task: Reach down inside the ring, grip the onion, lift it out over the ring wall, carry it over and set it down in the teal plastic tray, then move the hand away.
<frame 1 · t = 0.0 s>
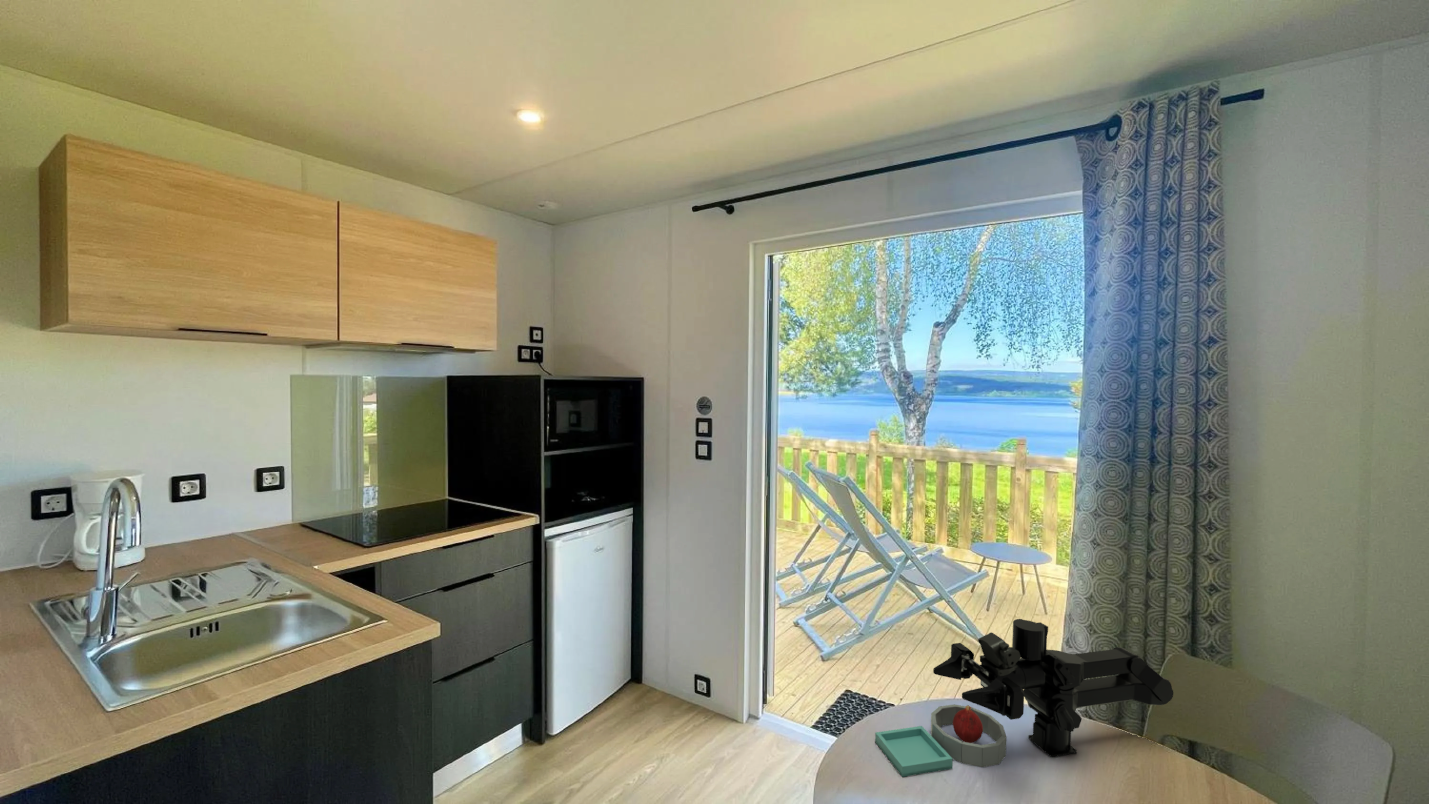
hand: (947, 682, 113), 17 cm above the table, tool horizontal, fingers open, 9 cm apart
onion: (967, 743, 120), resting in ring
tray: (912, 754, 116), on the table
ring: (967, 742, 120), on the table
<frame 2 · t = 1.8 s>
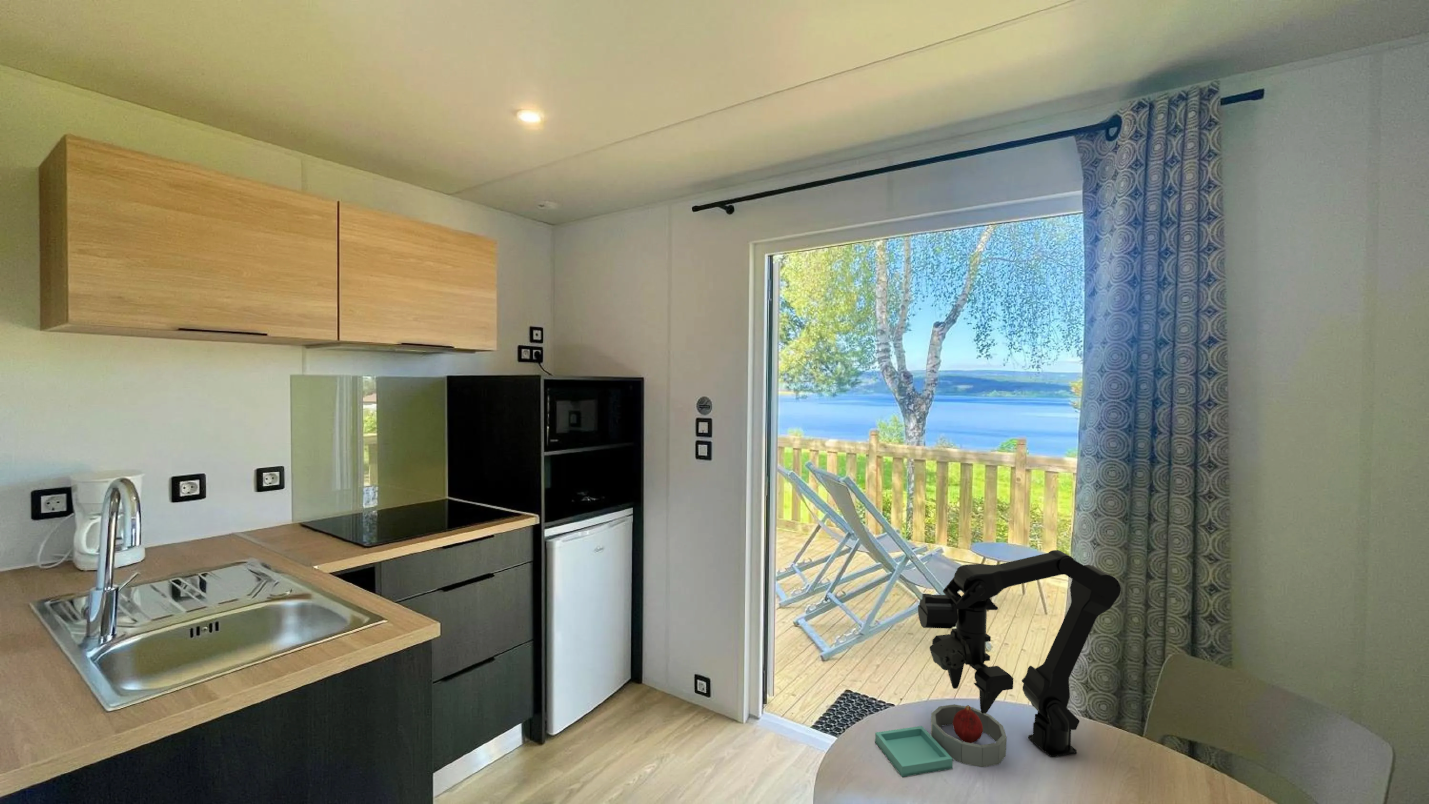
hand: (968, 700, 119), 9 cm above the table, tool pointing down, fingers open, 9 cm apart
nothing on the table moved.
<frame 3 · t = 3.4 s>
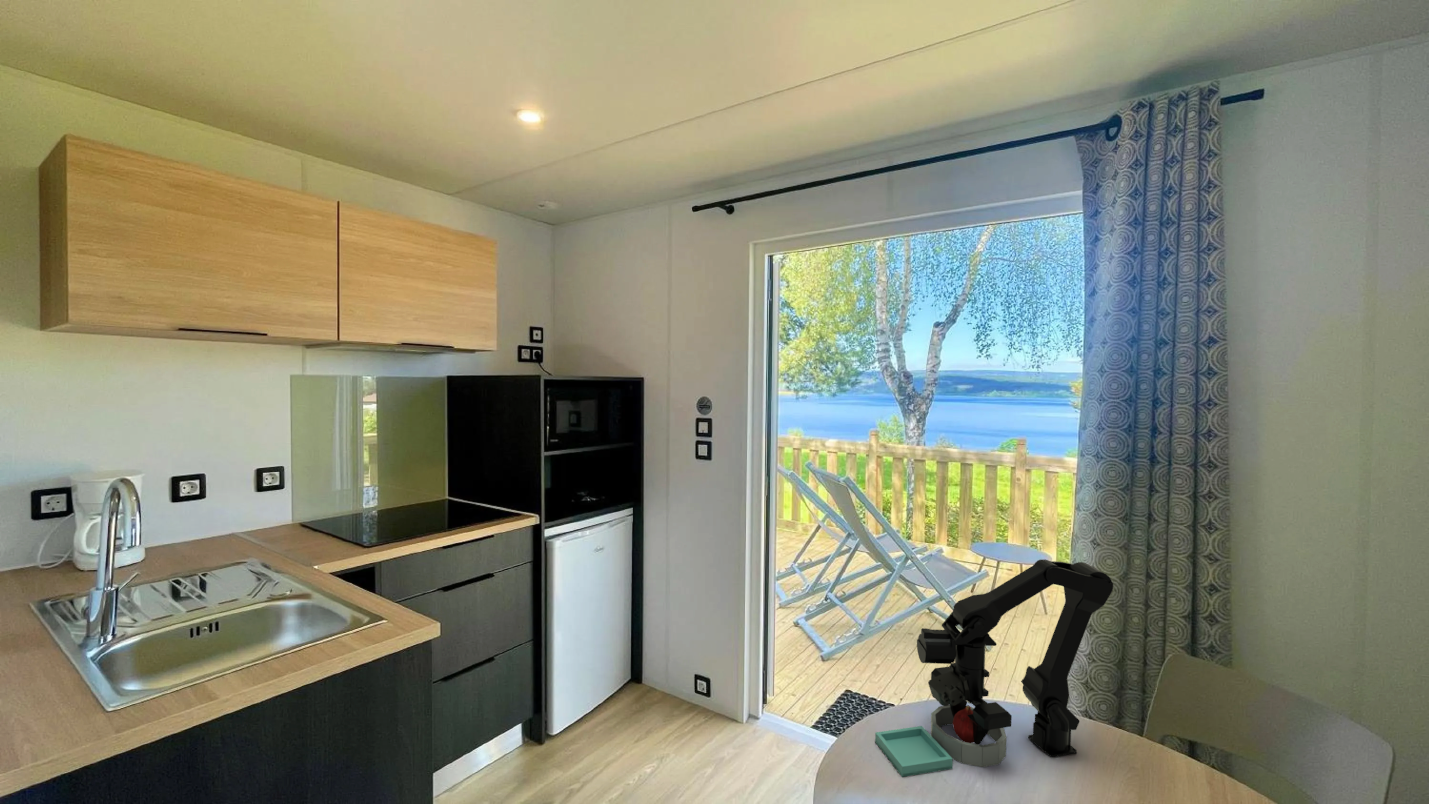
hand: (967, 734, 119), 2 cm above the table, tool pointing down, fingers closed on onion, 6 cm apart
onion: (967, 743, 120), resting in ring, touching gripper
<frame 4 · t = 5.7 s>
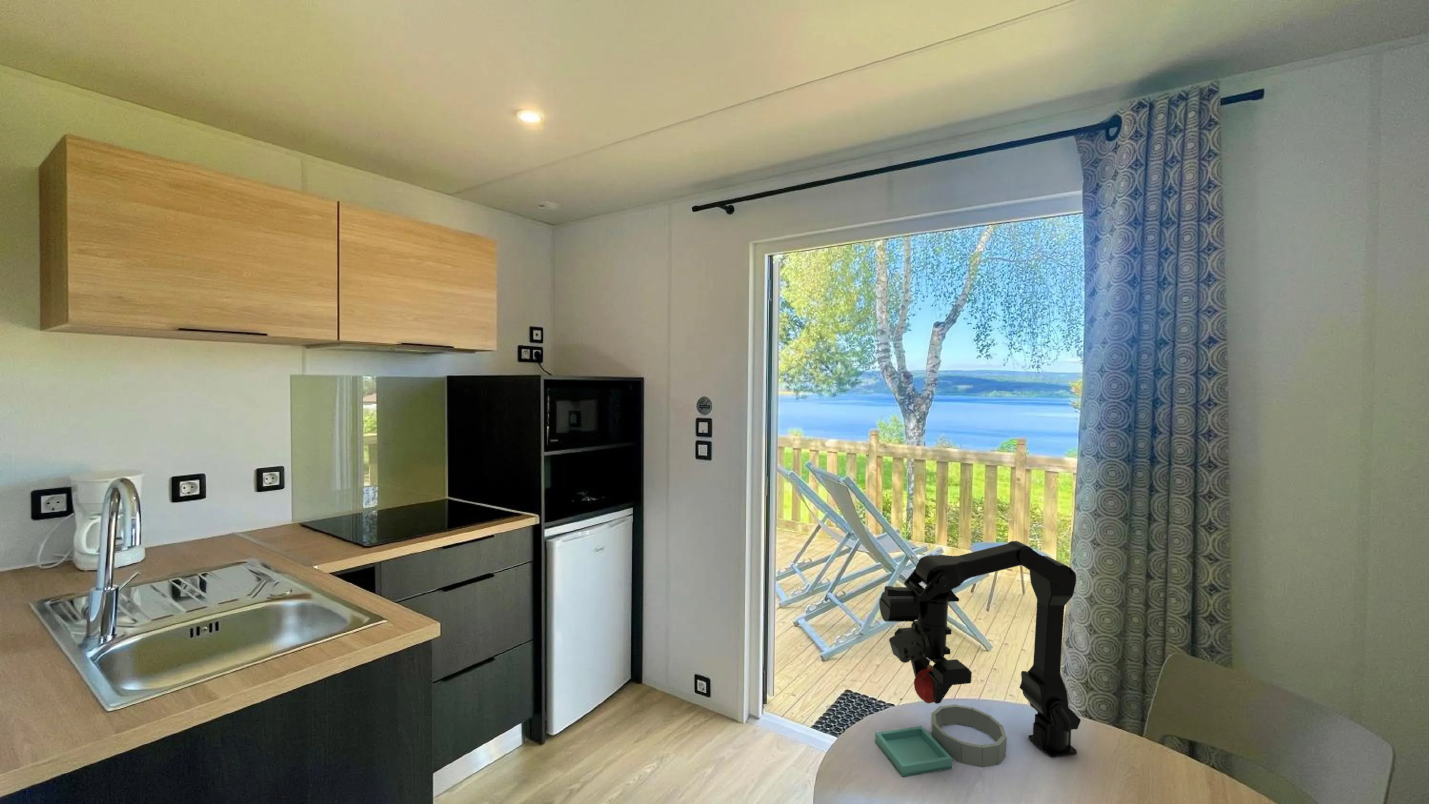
hand: (928, 694, 116), 12 cm above the table, tool pointing down, fingers closed on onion, 6 cm apart
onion: (927, 703, 116), point 10 cm above the table, touching gripper
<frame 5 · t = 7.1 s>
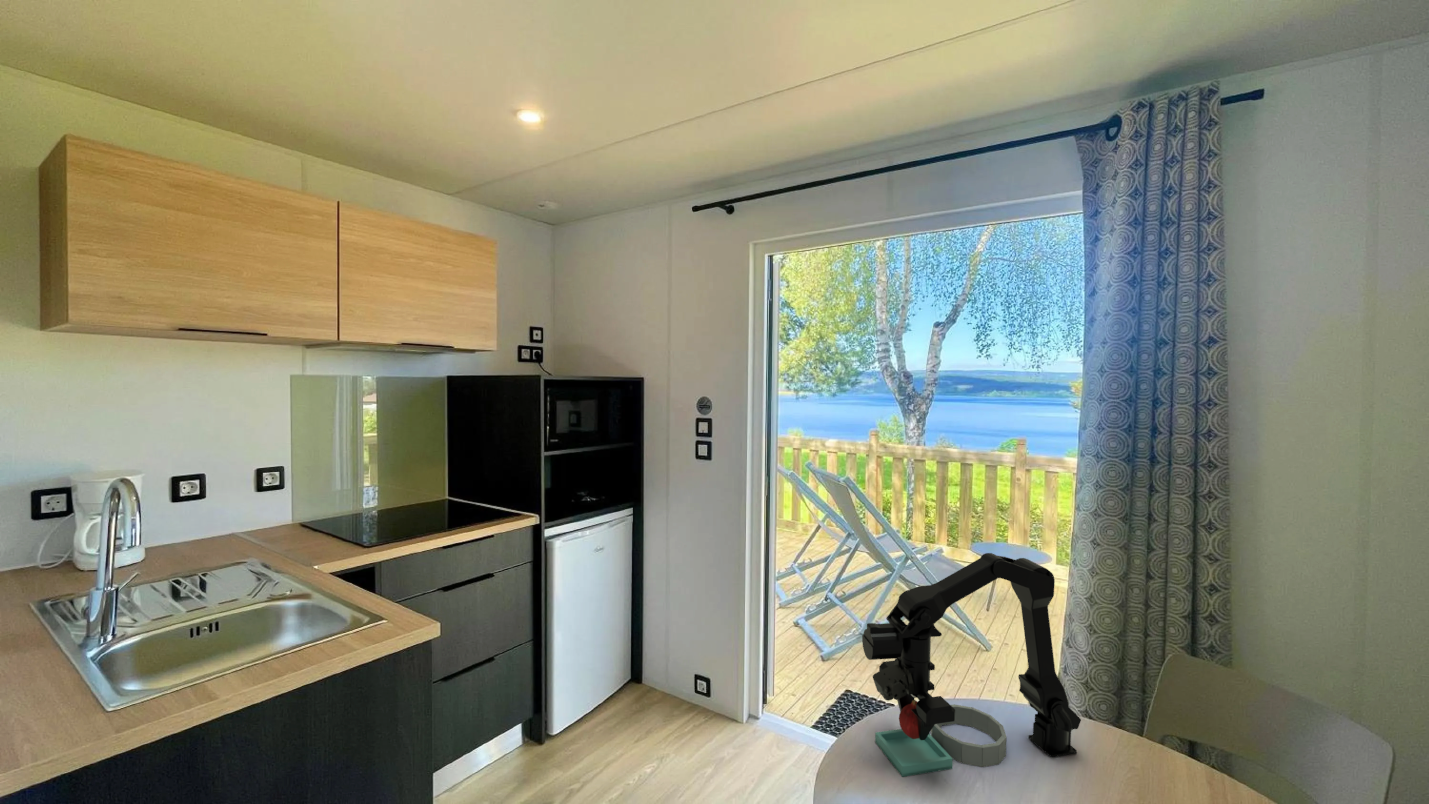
hand: (913, 729, 115), 5 cm above the table, tool pointing down, fingers closed on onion, 6 cm apart
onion: (913, 739, 116), point 3 cm above the table, touching gripper
when the fingers open (3 cm above the table, at t = 8.3 s): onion stays where it is, resting on tray.
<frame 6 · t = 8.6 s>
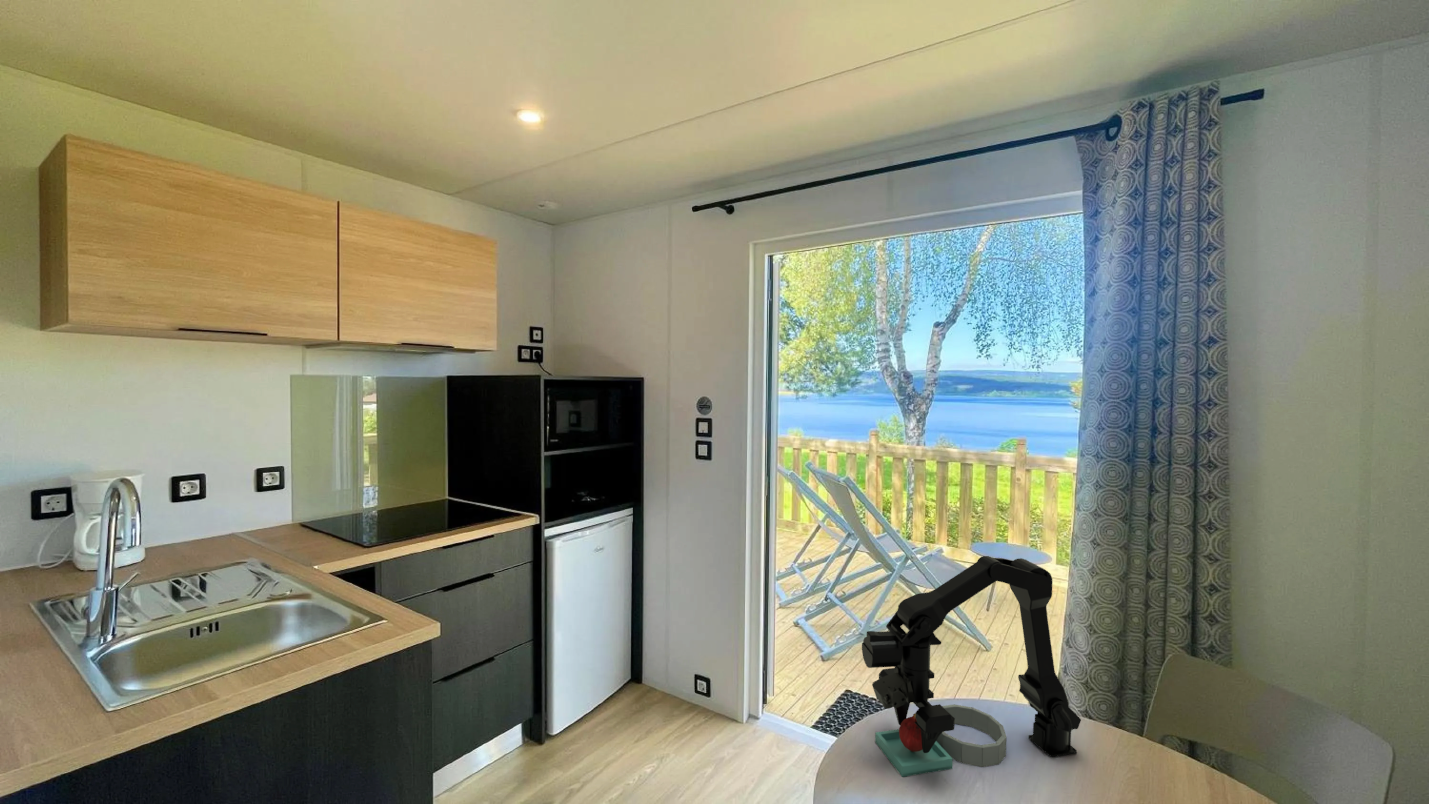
hand: (913, 737, 116), 4 cm above the table, tool pointing down, fingers open, 9 cm apart
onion: (912, 751, 116), resting on tray
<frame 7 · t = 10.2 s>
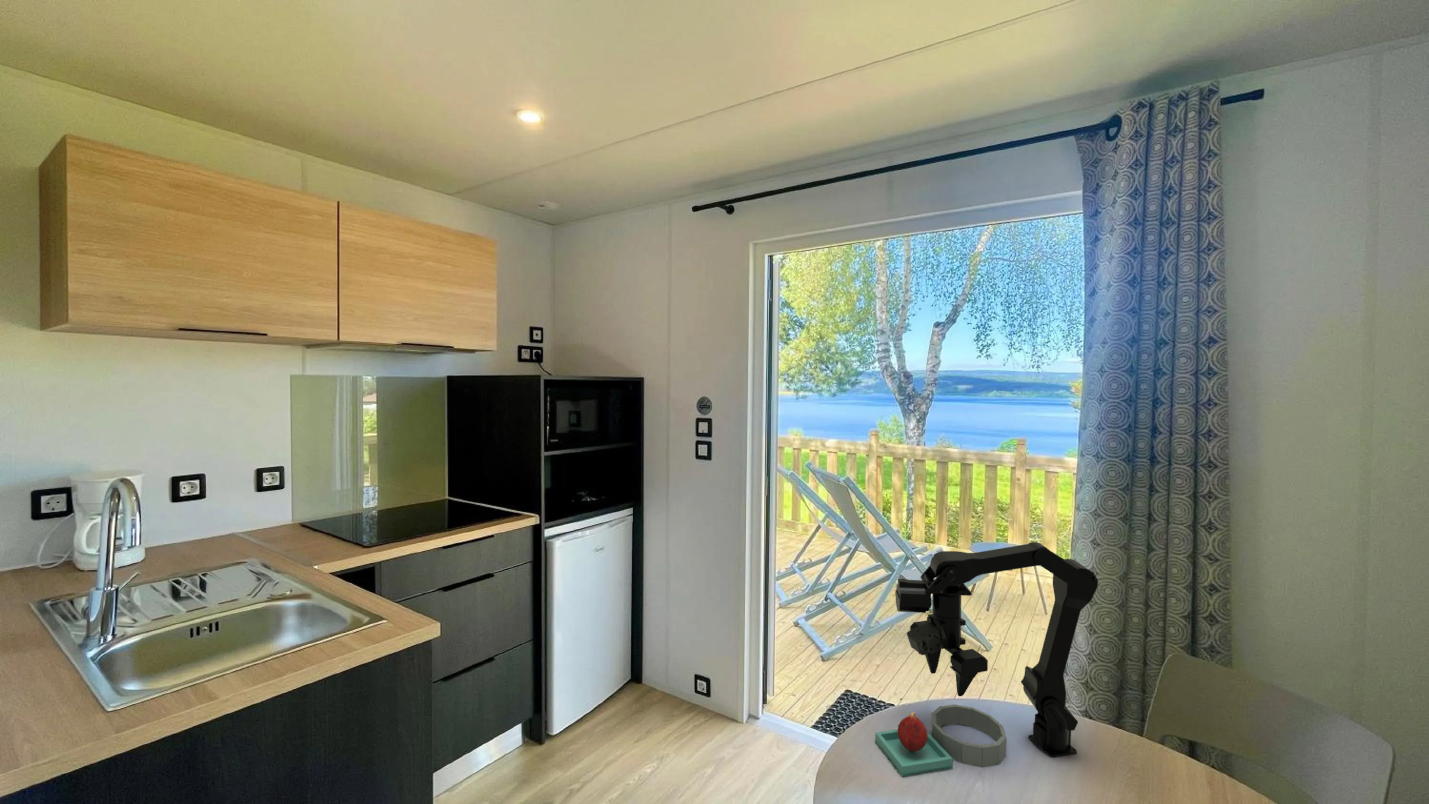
hand: (946, 683, 122), 11 cm above the table, tool pointing down, fingers open, 9 cm apart
nothing on the table moved.
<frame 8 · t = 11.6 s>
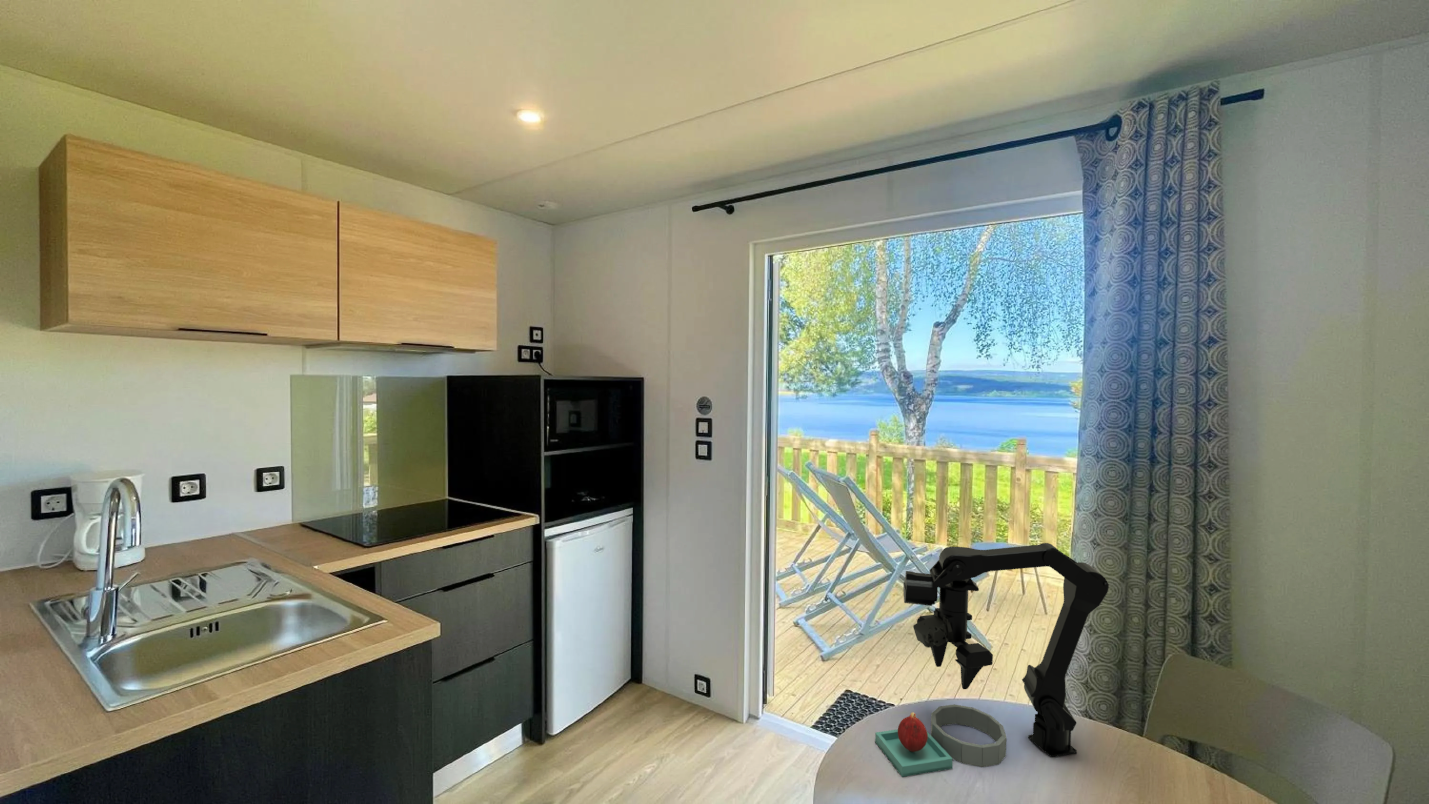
hand: (951, 677, 123), 12 cm above the table, tool pointing down, fingers open, 9 cm apart
nothing on the table moved.
at the end: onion inside the target area on the tray (0.2 cm from its centre), point 0.4 cm above the tray's base; the gripper is holding nothing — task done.
